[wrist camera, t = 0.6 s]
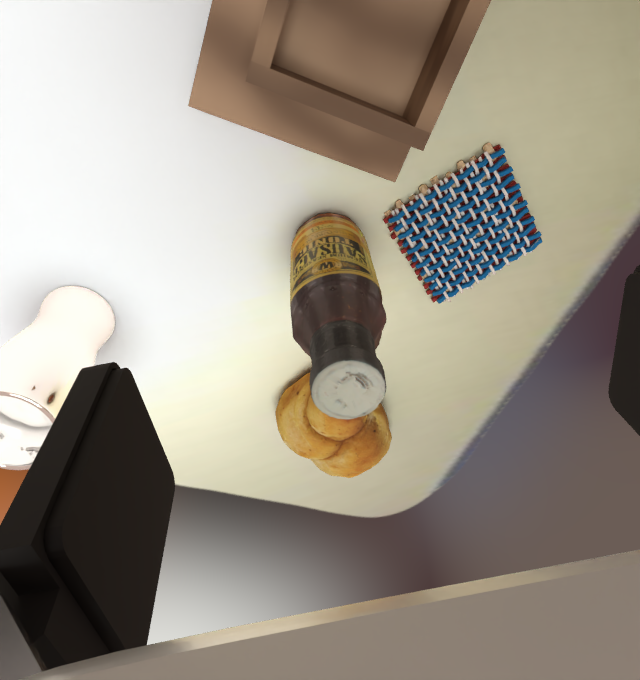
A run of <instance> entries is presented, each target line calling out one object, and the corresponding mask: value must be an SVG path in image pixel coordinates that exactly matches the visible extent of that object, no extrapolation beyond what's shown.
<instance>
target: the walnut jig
mask: <svg viewBox="0 0 640 680" xmlns="http://www.w3.org/2000/svg"><path fill="white" fill-rule="evenodd" d="M490 1H491V0H213V1H212V5H211V9H210V14H209V18H208V22H207V27H206V31H205V35H204V40H203V44H202V48H201V53H200V57H199V62H198V66H197V70H196V75H195V79H194V83H193V88H192V92H191V96H190V101H189V105H188V106H190V107H192V108H195V109H198V110H201V111H203V112H206V113H209V114H211V115H214V116H217V117H220V118H222V119H225V120H228V121H230V122H233V123H236V124H238V125H241V126H244V127H247V128H249V129H252V130H255V131H257V132H260V133H263V134H266V135H268V136H271V137H274V138H276V139H279V140H282V141H285V142H287V143H290V144H293V145H295V146H298V147H301V148H303V149H306V150H309V151H312V152H314V153H317V154H320V155H322V156H325V157H328V158H331V159H333V160H336V161H339V162H341V163H344V164H347V165H349V166H352V167H355V168H358V169H360V170H363V171H366V172H368V173H371V174H374V175H377V176H379V177H382V178H385V179H387V180H390V181H393V182H395V181H396V179H397V177H398V174H399V172H400V170H401V168H402V165H403V163H404V161H405V159H406V156H407V154H408V152H409V149H410V147H411V146H412V147H414V148H417V149H419V150H422V151H423V150H424V148H425V145H426V143H427V141H428V139H429V137H430V134H431V132H432V130H433V128H434V125H435V123H436V121H437V119H438V117H439V114H440V112H441V110H442V108H443V106H444V103H445V101H446V99H447V97H448V94H449V92H450V90H451V88H452V86H453V83H454V81H455V79H456V77H457V74H458V72H459V70H460V68H461V66H462V63H463V61H464V59H465V57H466V55H467V52H468V50H469V48H470V46H471V43H472V41H473V39H474V37H475V35H476V32H477V30H478V28H479V26H480V23H481V21H482V19H483V17H484V15H485V12H486V10H487V8H488V6H489V4H490Z"/></svg>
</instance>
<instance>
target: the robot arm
mask: <svg viewBox="0 0 640 680" xmlns="http://www.w3.org/2000/svg"><path fill="white" fill-rule="evenodd" d="M609 398H610V401H611V403H612V405H613V407H614V408H615V410H616V411H617V412H618V413H619V414H620V415H621V416H622V417H623V418H624V419H625V420H626V421H627V423H628V424H629V425H630V426H631V427H632V428H633V429H634V430H635V431H636V432H637V433H638V435H639V436H640V265H639V266H638V267H637V268H636V269H635V271H634V273H633V274H630V275H629V276H628V277H627V279H626V283H625V288H624V295H623V301H622V308H621V314H620V321H619V327H618V333H617V339H616V346H615V352H614V359H613V365H612V371H611V378H610V384H609ZM174 491H175V481H174V475H173V472H172V469H171V467H170V464H169V462H168V459H167V457H166V455H165V452H164V450H163V447H162V445H161V443H160V440H159V438H158V435H157V433H156V431H155V428H154V426H153V423H152V421H151V419H150V416H149V414H148V411H147V409H146V407H145V404H144V402H143V399H142V397H141V395H140V392H139V390H138V387H137V385H136V383H135V380H134V378H133V375H132V373H131V371H130V370H129V369H128V368H122V369H120V367H119V366H118V364H117V363H114V362H112V363H107V364H101V365H96V366H91V367H85V368H82V369H81V370H80V372H79V374H78V376H77V378H76V380H75V382H74V383H73V385H72V387H71V389H70V391H69V393H68V395H67V397H66V399H65V401H64V403H63V405H62V407H61V409H60V411H59V413H58V415H57V416H56V418H55V420H54V422H53V424H52V426H51V428H50V430H49V432H48V434H47V436H46V438H45V440H44V442H43V444H42V446H41V447H40V449H39V451H38V453H37V455H36V457H35V459H34V461H33V463H32V465H31V467H30V469H29V471H28V473H27V475H26V477H25V479H24V480H23V482H22V484H21V486H20V488H19V490H18V492H17V494H16V496H15V498H14V500H13V502H12V504H11V506H10V508H9V510H8V512H7V513H6V515H5V517H4V519H3V521H2V523H1V525H0V680H640V550H636V551H631V552H626V553H620V554H615V555H609V556H605V557H599V558H593V559H588V560H582V561H577V562H572V563H566V564H561V565H556V566H550V567H546V568H540V569H535V570H529V571H524V572H518V573H513V574H508V575H503V576H497V577H492V578H486V579H482V580H476V581H471V582H465V583H460V584H455V585H450V586H445V587H439V588H433V589H428V590H423V591H418V592H412V593H407V594H402V595H397V596H391V597H386V598H381V599H377V600H371V601H366V602H360V603H355V604H350V605H345V606H340V607H335V608H329V609H325V610H319V611H314V612H309V613H304V614H299V615H293V616H288V617H283V618H278V619H273V620H267V621H262V622H257V623H252V624H247V625H242V626H237V627H231V628H226V629H222V630H218V631H212V632H207V633H203V634H198V635H193V636H188V637H184V638H179V639H174V640H170V641H165V642H160V643H155V644H151V645H147V640H148V635H149V629H150V624H151V618H152V613H153V607H154V602H155V596H156V591H157V585H158V579H159V574H160V568H161V563H162V557H163V551H164V546H165V541H166V535H167V530H168V524H169V518H170V513H171V508H172V502H173V497H174Z"/></svg>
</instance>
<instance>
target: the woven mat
mask: <svg viewBox="0 0 640 680" xmlns="http://www.w3.org/2000/svg"><path fill="white" fill-rule="evenodd" d="M482 149H483V150H484V153H483V154H482V155H481V156H480V157H479V158H478V159H477V158H476V156H473V157H471V158H470V161H471V164H469V163H466V164H465V163H464V162H463V161H462V160H461V161H460V162H458V163H457V169H458V171H459V172H457V173H456V174H454V173H451V172H448V173H447V174H446V177H445V178H444V181H442V180H439V179H438V177H437V175H436V176H435V177H433V178H432V179H430V181H431V182H432V184H433V187H431V188H428V187H427V185H426V184H425V185H421V186H420V187H419V191H420V192H421V193H420V194H419V195H416V196H415V195H412V196H411V197H409V200H410V202H409V203H408V204H406V205H404V204H403V203H402V202H401V201H400V200H398V201H397V202H396V209H395V212H394V210H392V211H390V210H388V211H387V212H385V213H384V214H385V216H386V218H385V219H383V221H384V222H385V224H386V223H388V222H389V224H390V225H391V226H389V227H388V229H389V230H390V232H391V231H392V230H394V232H393V233H392V234H391V238H392V239H395V238H396V237H398V238H399V240H400V241H399V242H398V245H399V247H400V246H402V245H403V247H404V249H402V250H401V253H402V254H403V253H406V252H407V253H408V256H407V257H406V258H407V260H408V261H410V260H412V262H413V263H412V264H410V265H411V267H412V268H414V267H416V268H417V270H415V273H416V275H419V274H420V275H419V276H418V280H419V281H421V280H422V279H423V280H424V281H425V283H426V284H424V285H423V286H424V288H425V289H427V288H429V290H427V291H426V293H427V294H428V295H429V294H432V295H433V297H432V298H431V299H432V301H433V303H434V302H435V301H437V302H438V303H441V302H445V301H446V300H445V299H447V301H448V302H451V301H450V299H449V297H455V296H456V294H457V293H458V291H460V292H461V293H463V290H462V289H464V288H466V289H469V287H470V288H471V289H472V288H474V287H473V285H472V284H473V283H474V282H476V283H477V284H479V283H480V282H479V280H482V279H483V280H484V279H486V278H485V277H486V276H487V275H488V276H491V274H490V272H492V274H493V275H494V274H496V273H495V271H496V270H499V271H500V270H501V269H502V267H503V266H504V265H505V264H506V265H507V266H508V265H510V264H509V263H510V262H511V261H514V260H518V259H520V256H521V255H522V254H523V255H524V256H525V255H527V253H526V252H530V253H531V252H533V250H534V249H535V248H536V247H537V246H538V245H539V244H540V243H542V240H541V237H540V236H541V233H540V232H539V231H538V232H536V231H537V229H536V226H535V224H534V222H533V221H534V220H535V219H534V217H533V216H531V215H530V214H529V213H528V214H526V215H524V214H525V213H527V212H529V210H528V208H527V206H526V205H527V204H528V203H527V201H526V200H524V201H523V198H522V196H521V195H522V194H521V192H520V190H519V188H521V187H520V185H519V184H516V182H515V181H512V180H513V179H514V176H513V174H512V173H511V172H512V171H513V169H512V167H511V166H510V167H509V165H508V164H506V165H504V166H502V167H500V166H501V165H502V164H503V163H505V162H506V161H507V160H506V157H505V156H504V155H502V154H504V153H505V151H504V148H501V147H500V145H497V146H495V147H492V145H491V144H490V143H488V144H485V146H484V147H483V148H482ZM501 155H502V156H501ZM498 156H500V157H499V158H497V157H498ZM488 162H489V164H487V163H488ZM486 164H487V165H486ZM473 170H474V171H475V173H473ZM504 175H505V176H504ZM496 180H497V181H496ZM510 181H512V182H511V183H509V182H510ZM508 183H509V184H508ZM466 187H467V189H465V188H466ZM478 191H479V192H478ZM437 194H438V196H437V197H435V196H436V195H437ZM452 196H453V197H452ZM504 196H505V197H504ZM520 196H521V197H520ZM434 197H435V198H434ZM451 197H452V198H451ZM468 197H469V198H468ZM467 198H468V199H467ZM423 202H424V205H423V204H422V203H423ZM519 202H520V203H519ZM439 204H441V205H440V206H438V205H439ZM474 204H475V205H474ZM413 210H414V211H413ZM410 211H413V212H411V213H410V214H409V212H410ZM446 211H447V212H446ZM523 215H524V216H523ZM417 217H418V218H419V219H417ZM461 217H462V218H461ZM399 219H400V220H399ZM416 219H417V220H416ZM482 220H483V221H482ZM481 221H482V222H481ZM513 226H514V227H513ZM467 228H468V229H467ZM535 232H536V233H535ZM426 233H427V234H426ZM484 233H485V234H484ZM534 233H535V234H534ZM425 234H426V235H425ZM440 234H441V236H440ZM424 235H425V236H424ZM505 235H506V236H505ZM435 248H436V249H435ZM424 255H425V256H424ZM435 258H436V259H435ZM484 261H486V262H484ZM443 262H444V263H443ZM458 268H459V269H458ZM453 288H454V289H453Z"/></svg>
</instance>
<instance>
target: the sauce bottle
mask: <svg viewBox="0 0 640 680" xmlns="http://www.w3.org/2000/svg"><path fill="white" fill-rule="evenodd" d="M290 296H291V297H290V306H291V318H292V329H293V338H294V339H295V341H296V342H297V343H298V344H299V345H300V346H301V348H302V349H303V350H304V351H305V353H307V354H308V355H309V356H310V357H311V359H312V369H311V371H310V380H309V383H310V391H311V398H312V399H313V402H314V404H315V405H316V407H317V408H318V409H319V410H320V411H322V412H323V413H325V414H327V415H328V416H330V417H334V418H337V419H354V418H358V417H361V416H365V415H367V414H369V413H371V412H372V411H373V410H375V409H376V408H377V407H378V405H379V404H380V402H381V401H382V399H383V397H384V396H385V392H386V381H385V375H384V370H383V366H382V364H381V362H380V361H379V359H378V358H377V357H376V353H375V349H376V348H377V346H378V345H379V341H380V339H381V335H382V330H383V328H384V325H385V323H386V313H385V310H384V308H383V305H382V295H381V290H380V287H379V284H378V280H377V277H376V273H375V270H374V267H373V263H372V260H371V256H370V253H369V249H368V246H367V243H366V240H365V237H364V236H363V234H362V232H361V230H360V229H359V228H358V227H357V226H356V224H355V223H353V222H352V221H351V220H350V219H349V218H347V217H345V216H342V215H338V214H331V213H326V214H318V215H317V216H314V217H313V218H311V219H310V220H308V221H307V222H305V223H304V224H303V225H302V226H301V227H300V228H299V229H298V230H297V232H296V236H295V238H294V240H293V242H292V246H291V274H290Z"/></svg>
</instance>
